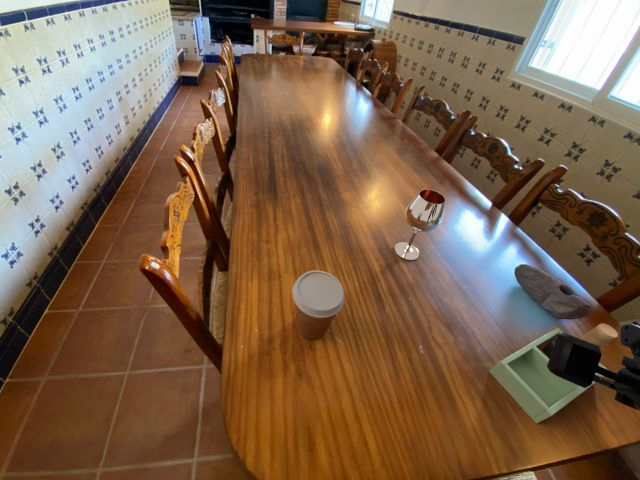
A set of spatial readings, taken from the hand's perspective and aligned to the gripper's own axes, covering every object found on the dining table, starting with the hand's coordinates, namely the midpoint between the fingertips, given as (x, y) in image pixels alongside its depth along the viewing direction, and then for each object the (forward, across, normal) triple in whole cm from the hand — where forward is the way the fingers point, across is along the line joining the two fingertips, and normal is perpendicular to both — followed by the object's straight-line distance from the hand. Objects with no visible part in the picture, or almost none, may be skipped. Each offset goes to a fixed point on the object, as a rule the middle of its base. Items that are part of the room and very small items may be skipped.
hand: (593, 365), depth 48 cm
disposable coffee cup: (-1, +44, +14) cm, 47 cm away
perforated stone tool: (+21, +1, -9) cm, 23 cm away
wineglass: (+21, +31, -8) cm, 38 cm away
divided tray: (+7, +3, +6) cm, 9 cm away
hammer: (+8, 0, +3) cm, 9 cm away
